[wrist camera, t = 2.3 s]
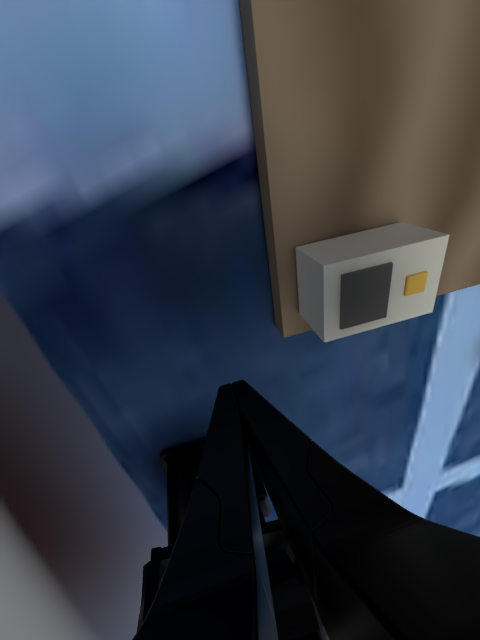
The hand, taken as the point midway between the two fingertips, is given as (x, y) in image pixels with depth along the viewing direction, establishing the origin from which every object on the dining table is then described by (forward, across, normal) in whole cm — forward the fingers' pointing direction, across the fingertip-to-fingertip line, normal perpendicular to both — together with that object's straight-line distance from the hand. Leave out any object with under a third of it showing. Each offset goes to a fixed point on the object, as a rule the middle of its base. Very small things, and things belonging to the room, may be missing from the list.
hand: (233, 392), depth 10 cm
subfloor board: (+8, -14, -5) cm, 17 cm away
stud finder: (+6, -8, 0) cm, 10 cm away
